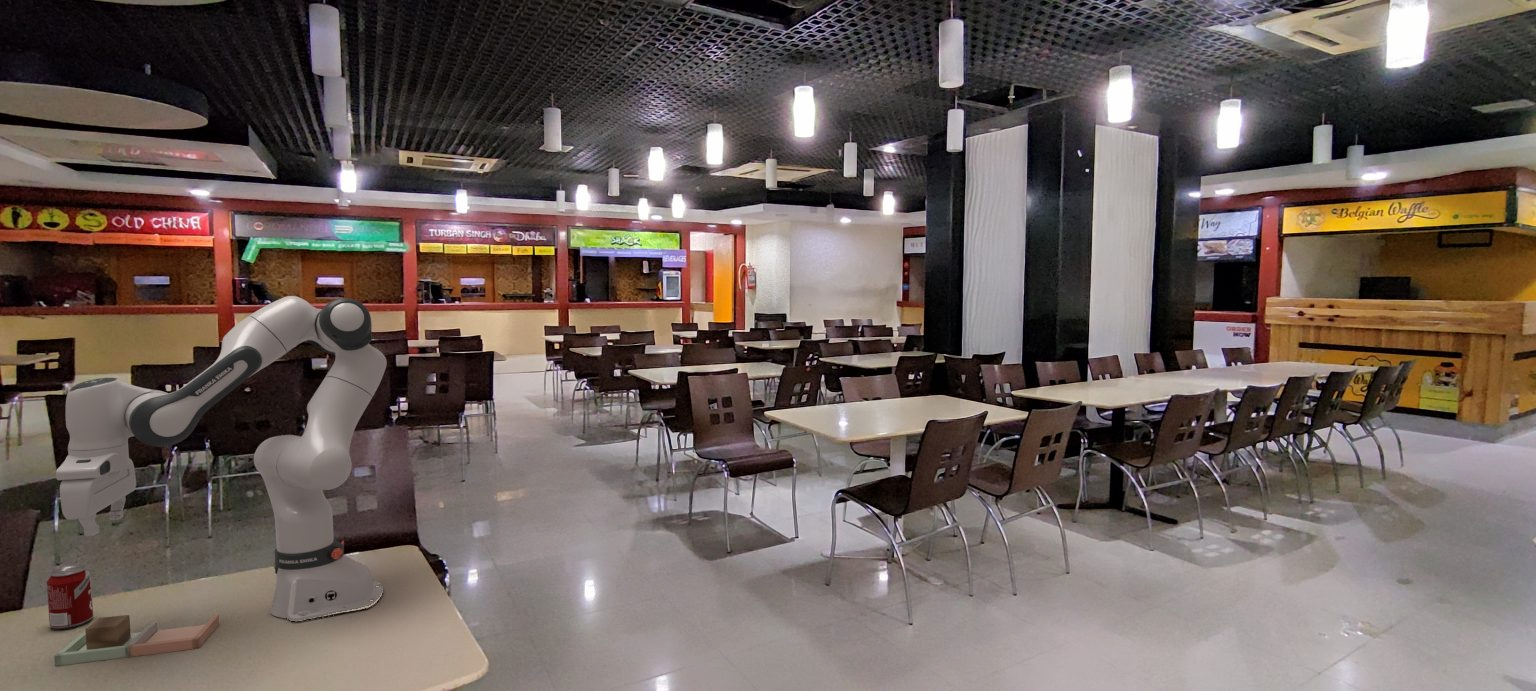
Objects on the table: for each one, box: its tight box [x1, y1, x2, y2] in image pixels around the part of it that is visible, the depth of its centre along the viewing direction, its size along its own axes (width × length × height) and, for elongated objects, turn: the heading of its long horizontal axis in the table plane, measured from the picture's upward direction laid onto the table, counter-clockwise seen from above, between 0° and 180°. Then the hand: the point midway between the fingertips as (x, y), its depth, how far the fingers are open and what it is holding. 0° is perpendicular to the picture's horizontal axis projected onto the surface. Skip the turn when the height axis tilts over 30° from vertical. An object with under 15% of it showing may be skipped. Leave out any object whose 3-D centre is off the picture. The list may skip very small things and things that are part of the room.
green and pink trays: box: [53, 614, 220, 667], centre depth 148 cm, size 23×11×2 cm, turn 109°
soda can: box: [46, 564, 94, 630], centre depth 155 cm, size 7×7×12 cm
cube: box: [84, 614, 131, 650], centre depth 146 cm, size 5×5×5 cm
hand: (104, 526), depth 146 cm, fingers open, 8 cm apart
